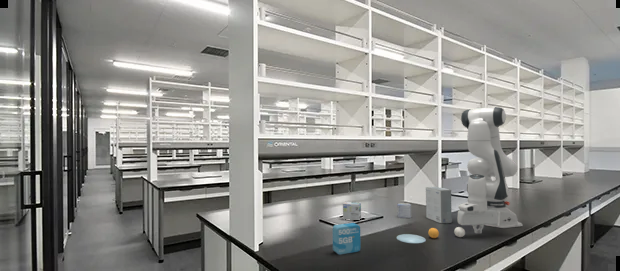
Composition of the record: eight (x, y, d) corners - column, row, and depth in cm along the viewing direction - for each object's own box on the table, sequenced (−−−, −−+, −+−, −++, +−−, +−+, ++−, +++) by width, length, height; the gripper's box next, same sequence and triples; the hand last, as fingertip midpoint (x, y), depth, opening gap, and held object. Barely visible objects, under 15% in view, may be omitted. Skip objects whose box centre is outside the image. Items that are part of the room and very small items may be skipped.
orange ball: (435, 236, 159) (435, 226, 159) (440, 239, 154) (440, 229, 154) (426, 236, 159) (426, 226, 159) (431, 239, 154) (431, 229, 154)
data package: (337, 255, 134) (336, 227, 134) (332, 251, 138) (332, 225, 138) (360, 251, 138) (360, 224, 139) (355, 248, 143) (355, 222, 143)
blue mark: (418, 234, 163) (418, 233, 163) (430, 242, 149) (430, 242, 149) (392, 235, 162) (392, 234, 162) (402, 243, 148) (402, 243, 148)
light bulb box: (361, 219, 196) (361, 202, 196) (359, 221, 189) (359, 204, 190) (345, 217, 199) (344, 201, 199) (342, 220, 193) (342, 203, 193)
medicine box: (409, 216, 201) (409, 203, 201) (411, 218, 197) (411, 204, 197) (397, 216, 202) (397, 203, 202) (398, 218, 198) (398, 204, 198)
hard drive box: (452, 223, 184) (451, 189, 185) (441, 224, 182) (440, 190, 183) (436, 216, 199) (435, 186, 200) (425, 217, 198) (425, 186, 198)
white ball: (461, 235, 160) (461, 225, 160) (467, 238, 155) (467, 228, 155) (452, 235, 160) (452, 226, 160) (457, 238, 155) (457, 228, 155)
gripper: (492, 204, 163) (492, 230, 162) (455, 205, 161) (455, 231, 161) (500, 206, 156) (501, 234, 156) (462, 208, 155) (462, 235, 154)
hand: (477, 233), depth 158 cm, fingers closed
